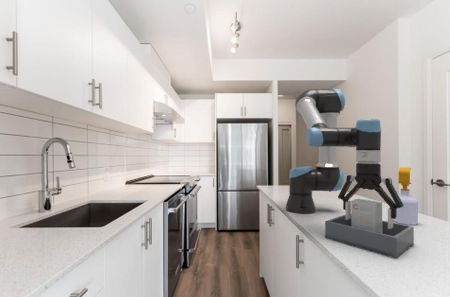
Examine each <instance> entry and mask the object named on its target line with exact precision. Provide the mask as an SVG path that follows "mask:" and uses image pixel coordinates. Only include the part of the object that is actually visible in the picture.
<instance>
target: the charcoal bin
mask: <svg viewBox="0 0 450 297" xmlns="http://www.w3.org/2000/svg"><path fill="white" fill-rule="evenodd" d="M414 229H415V226H414V225H406V224H400V223H397V222H393V228H391V229H388V220H387V221H386V220H382V234H381V233H377V232H372V231H368V230H364V229H360V228H355V227H351V219H348V220H346V213H345V214H342V215H340V216H337V217H334V218H330V219H327V220H326V221H325V222H324V237H325V239H328V240H332V241H335V242H339V243H340V244H341V243H342V244H345V245H347V246H348V245H349V246H351V247H355V248H358V249H362V250H366V251H370V252H373V253H376V254H380V255H382V256H386V257H390V258H393V259H398V258H399V257H401V255H403V254H404V253H405V252H406V251H408V250H409V249H410V248H411V247H413V246H414V244H415V242H414V241H415V239H414V238H415V234H414V233H415V230H414Z"/></svg>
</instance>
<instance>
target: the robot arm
mask: <svg viewBox="0 0 450 297" xmlns="http://www.w3.org/2000/svg"><path fill="white" fill-rule="evenodd" d="M294 105H295V108H296V111H297V112H298V113H299V114H300V115H301V117H302V120H303V121H304V123H305V126H306V128H307V130H306V133H305V140H306V144H307V146H309V147H316V148H318V163H317V164H315V168H313V167H312V166H310V165H307V166H306V165H305V166H297V167H293V168H291V169H290V170H289V176H288V178H289V193H288V194H289V195H288V199H287V201H286V204H285V209H286V211H288V212H290V213H296V214H313V213H316V205H315V202H314V199H313V192H338V191H340V192H339V193H338V196H337V198H338V199H339V200H342V203H343V204H342V206H343V207H342V208H343V210H345V214H346V220H348V219H351V200H350V199H351V198H352V197H354V195H355V194H356V193H357V192H359V190H361V189H362V190H370V191H373V190H374V191H375V192H376V193H377V194H378V195H379V196H380V197H381V198H382V200H383V201H384V202H385V203H386V204H387V206H388V207H387V222H388V229H391V228H393V223H394V221H393V219H395V218H396V217H397V208H401V207H403V206H404V205H403V203H402V201H401V199H400V198H399V196H398V195H399V193H398V192H397V191H396V188H395V187H394V184H393V180H392V178H391V177H388V178H386V177H385V178H382V175H381V174H382V171H381V170H382V168H381V164H380V163H381V157H382V156H381V154H382V152H381V151H382V150H381V149H382V148H381V146H382V145H381V144H382V142H381V141H382V140H381V138H382V136H381V135H382V128H381V120H380V119H377V118H362V119H361V118H360V119H358V120H356V122H355V127H338V117H339V116H340V115H341V112H342V111H344V109H345V105H346V98H345V94H344V92H343V91H342V90H341V89H339V88H311V89H310V88H309V89H306V90H304V91H302V92H301V93H300V94H299V95H298V96H297V98H296V100H295V104H294ZM338 147H339V148H340V147H341V148H342V147H345V148H355V161H356V162H357V163H356V164H355V175H353V174H348V175H346V181H345V183H344V179H345V178H344V171H343V170H342V169H340V165H338V163H337V148H338ZM354 181H356V184H355V185H354V186H353V187H352V189H351V190H350V191H348V190H349V188H350V187H351V185H352V183H353V182H354ZM382 183H383V184H384V185H385V187H386V188H387V191H388V193H389V194H390V196H391V197H390V196H389V195H388V193H387V192H386V191H385V190H384V189H383V187H382V186H381V184H382ZM393 200H394V202H395V203H394V202H393Z"/></svg>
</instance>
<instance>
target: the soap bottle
mask: <svg viewBox="0 0 450 297" xmlns="http://www.w3.org/2000/svg"><path fill="white" fill-rule="evenodd" d="M411 170H412V168H411V167H403V166H400V167H399V169H398V184H399V185H400V186H401V187H402V188H400V193H398V196H399V198H400V199H401V201H402V203H403V205H404V206H403V207H401V208H397V217H396V218H395V219H393V222H394V223H397V224H403V225H408V226H415V225H418V223H419V202H418V200H417V198H416V197H414V196H412V194H410V193H411V190H410V189H409V188H408V187H409V186H410V185H411V184H412V182H411ZM392 201H393V202H394V200H393V199H392ZM394 203H395V202H394Z"/></svg>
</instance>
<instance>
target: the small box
mask: <svg viewBox="0 0 450 297" xmlns="http://www.w3.org/2000/svg"><path fill="white" fill-rule="evenodd" d="M350 201H351V227H355V228H360V229H364V230H368V231H372V232H377V233H381V234H382V221H383V202H382V201H378V200H370V199H363V198H355V199H352V200H350Z"/></svg>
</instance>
